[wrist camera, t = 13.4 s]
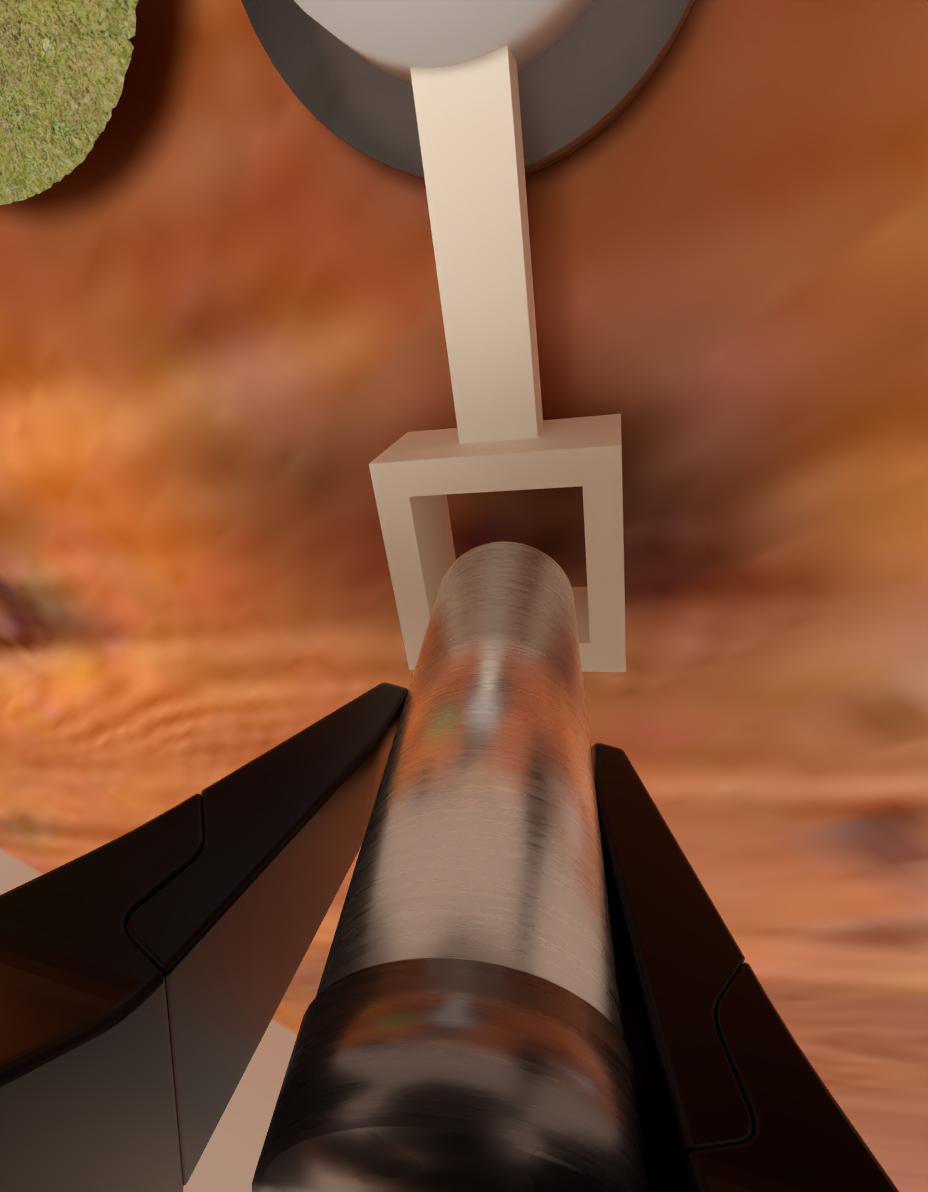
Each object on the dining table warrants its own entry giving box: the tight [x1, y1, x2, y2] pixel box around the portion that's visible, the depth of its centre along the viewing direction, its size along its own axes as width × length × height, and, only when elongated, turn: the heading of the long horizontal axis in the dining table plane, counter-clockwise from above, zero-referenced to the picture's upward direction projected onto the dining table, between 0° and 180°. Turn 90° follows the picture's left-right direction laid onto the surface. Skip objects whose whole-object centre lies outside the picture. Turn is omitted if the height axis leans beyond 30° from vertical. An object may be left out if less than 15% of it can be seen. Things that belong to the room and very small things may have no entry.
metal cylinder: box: [252, 541, 649, 1192], centre depth 8 cm, size 3×3×9 cm
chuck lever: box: [294, 0, 626, 672], centre depth 13 cm, size 19×7×3 cm, turn 7°
